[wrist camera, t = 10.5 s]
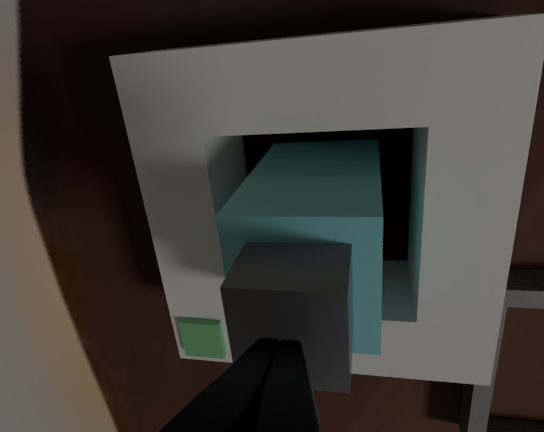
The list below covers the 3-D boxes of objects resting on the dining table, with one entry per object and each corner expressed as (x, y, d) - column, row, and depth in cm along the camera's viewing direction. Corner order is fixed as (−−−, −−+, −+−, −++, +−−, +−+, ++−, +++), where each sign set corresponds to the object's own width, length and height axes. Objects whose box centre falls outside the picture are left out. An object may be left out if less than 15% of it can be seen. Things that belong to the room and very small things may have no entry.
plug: (378, 139, 15) (386, 263, 7) (377, 234, 17) (382, 420, 9) (274, 143, 16) (182, 257, 8) (282, 233, 18) (212, 400, 10)
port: (502, 15, 13) (556, 12, 9) (466, 312, 18) (492, 392, 14) (168, 48, 16) (102, 57, 12) (213, 299, 20) (177, 363, 16)
